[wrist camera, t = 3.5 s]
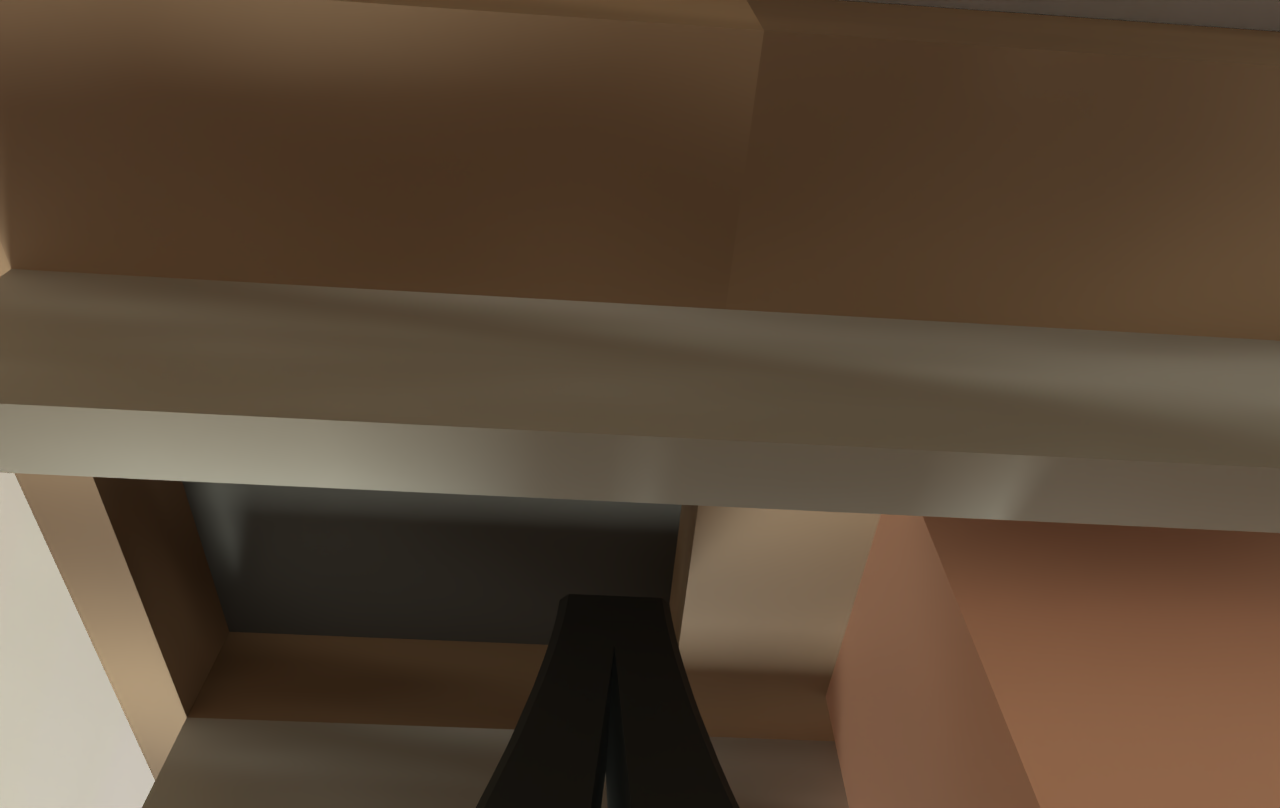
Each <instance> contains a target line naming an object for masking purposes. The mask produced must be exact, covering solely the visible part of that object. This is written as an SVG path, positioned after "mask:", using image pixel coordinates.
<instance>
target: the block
mask: <svg viewBox="0 0 1280 808" xmlns="http://www.w3.org/2000/svg"><path fill="white" fill-rule="evenodd" d="M825 697H826V702H827V707H828V711H829V716H830V721H831V726H832V730H833V735H834V740H835V744H836V749H837V754H838V759H839V763H840V768H841V773H842V777H843V782H844V787H845V791H846V796H847V801H848V806H849V808H1280V533H1268V532H1247V531H1225V530H1204V529H1183V528H1162V527H1141V526H1120V525H1099V524H1078V523H1057V522H1036V521H1014V520H993V519H972V518H951V517H930V516H909V515H888V514H881V515H880V519H879V522H878V525H877V528H876V532H875V535H874V538H873V542H872V545H871V548H870V552H869V555H868V558H867V561H866V565H865V568H864V571H863V575H862V578H861V581H860V584H859V588H858V591H857V594H856V598H855V601H854V604H853V607H852V611H851V614H850V617H849V621H848V624H847V627H846V631H845V634H844V637H843V640H842V644H841V647H840V650H839V654H838V657H837V660H836V663H835V667H834V670H833V673H832V677H831V680H830V683H829V687H828V690H827V693H826V696H825Z"/></svg>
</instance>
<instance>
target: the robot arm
mask: <svg viewBox="0 0 1280 808" xmlns="http://www.w3.org/2000/svg"><path fill="white" fill-rule="evenodd" d="M605 773H606V791H607V808H739V805H738V803H737V801H736V799H735V797H734V795H733V792H732V790H731V788H730V786H729V783H728V781H727V779H726V776H725V774H724V772H723V769H722V767H721V765H720V763H719V760H718V758H717V755H716V753H715V750H714V747H713V745H712V742H711V740H710V737H709V735H708V732H707V730H706V727H705V725H704V722H703V720H702V717H701V714H700V712H699V709H698V706H697V703H696V701H695V698H694V695H693V692H692V689H691V686H690V683H689V680H688V677H687V674H686V670H685V667H684V664H683V661H682V657H681V654H680V650H679V647H678V643H677V639H676V635H675V631H674V626H673V622H672V617H671V611H670V605H669V604H668V603H667V602H666V601H665V600H664V599H663V598H653V597H630V596H606V595H582V594H568V595H566V596H565V597H563V598H562V599H560V601H559V606H558V611H557V616H556V620H555V624H554V628H553V631H552V635H551V638H550V641H549V644H548V647H547V650H546V653H545V656H544V659H543V662H542V664H541V667H540V670H539V672H538V675H537V678H536V680H535V683H534V686H533V688H532V690H531V693H530V695H529V697H528V700H527V702H526V704H525V706H524V709H523V711H522V713H521V716H520V718H519V720H518V722H517V725H516V727H515V729H514V732H513V734H512V736H511V738H510V741H509V743H508V745H507V747H506V749H505V751H504V753H503V755H502V757H501V759H500V761H499V763H498V765H497V767H496V769H495V771H494V773H493V775H492V777H491V779H490V781H489V783H488V785H487V787H486V788H485V790H484V792H483V794H482V796H481V798H480V800H479V802H478V804H477V806H476V808H601V805H602V797H603V789H604V781H605Z"/></svg>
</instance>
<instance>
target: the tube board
mask: <svg viewBox="0 0 1280 808" xmlns="http://www.w3.org/2000/svg"><path fill="white" fill-rule="evenodd" d="M0 472H2V473H15V475H16V478H17V480H18V482H19V484H20V486H21V488H22V491H23V493H24V495H25V497H26V499H27V502H28V504H29V506H30V508H31V510H32V512H33V515H34V517H35V519H36V521H37V523H38V526H39V528H40V530H41V532H42V534H43V537H44V539H45V541H46V543H47V545H48V547H49V550H50V552H51V554H52V556H53V558H54V561H55V563H56V565H57V567H58V569H59V571H60V574H61V576H62V578H63V580H64V582H65V585H66V587H67V589H68V591H69V593H70V595H71V598H72V600H73V602H74V604H75V606H76V609H77V611H78V613H79V615H80V617H81V620H82V622H83V624H84V626H85V628H86V630H87V633H88V635H89V637H90V639H91V641H92V644H93V646H94V648H95V650H96V652H97V654H98V657H99V659H100V661H101V663H102V665H103V668H104V670H105V672H106V674H107V676H108V678H109V681H110V683H111V685H112V687H113V689H114V692H115V694H116V696H117V698H118V700H119V703H120V705H121V707H122V709H123V711H124V713H125V716H126V718H127V720H128V722H129V724H130V727H131V729H132V731H133V733H134V735H135V737H136V740H137V742H138V744H139V746H140V748H141V751H142V753H143V755H144V757H145V759H146V761H147V764H148V766H149V768H150V770H151V772H152V775H153V777H154V779H155V783H154V785H153V787H152V789H151V791H150V793H149V795H148V797H147V799H146V801H145V803H144V805H143V807H142V808H476V806H477V804H478V802H479V800H480V798H481V796H482V794H483V792H484V790H485V788H486V787H487V785H488V783H489V781H490V779H491V777H492V775H493V773H494V771H495V769H496V767H497V765H498V763H499V761H500V759H501V757H502V755H503V753H504V751H505V749H506V747H507V745H508V743H509V741H510V738H511V736H512V734H513V732H514V729H515V727H516V725H517V722H518V720H519V718H520V716H521V713H522V711H523V709H524V706H525V704H526V702H527V700H528V697H529V695H530V693H531V690H532V688H533V686H534V683H535V680H536V678H537V675H538V672H539V670H540V667H541V664H542V662H543V659H544V656H545V653H546V650H547V647H548V644H549V641H550V638H551V635H552V631H553V628H554V624H555V620H556V616H557V611H558V606H559V601H560V599H562V598H563V597H565V596H566V595H568V594H582V595H606V596H630V597H653V598H663V599H664V600H665V601H666V602H667V603H668V604H669V605H670V611H671V617H672V622H673V626H674V631H675V635H676V639H677V643H678V647H679V650H680V654H681V657H682V661H683V664H684V667H685V670H686V674H687V677H688V680H689V683H690V686H691V689H692V692H693V695H694V698H695V701H696V703H697V706H698V709H699V712H700V714H701V717H702V720H703V722H704V725H705V727H706V730H707V732H708V735H709V737H710V740H711V742H712V745H713V747H714V750H715V753H716V755H717V758H718V760H719V763H720V765H721V767H722V769H723V772H724V774H725V776H726V779H727V781H728V783H729V786H730V788H731V790H732V792H733V795H734V797H735V799H736V801H737V803H738V805H739V808H849V806H848V801H847V796H846V791H845V787H844V782H843V777H842V773H841V768H840V763H839V759H838V754H837V749H836V744H835V740H834V735H833V730H832V726H831V721H830V716H829V711H828V707H827V702H826V697H825V696H826V693H827V690H828V687H829V683H830V680H831V677H832V673H833V670H834V667H835V663H836V660H837V657H838V654H839V650H840V647H841V644H842V640H843V637H844V634H845V631H846V627H847V624H848V621H849V617H850V614H851V611H852V607H853V604H854V601H855V598H856V594H857V591H858V588H859V584H860V581H861V578H862V575H863V571H864V568H865V565H866V561H867V558H868V555H869V552H870V548H871V545H872V542H873V538H874V535H875V532H876V528H877V525H878V522H879V519H880V515H881V514H888V515H909V516H930V517H951V518H972V519H993V520H1014V521H1036V522H1057V523H1078V524H1099V525H1120V526H1141V527H1162V528H1183V529H1204V530H1225V531H1247V532H1268V533H1280V32H1276V31H1262V30H1248V29H1234V28H1220V27H1206V26H1192V25H1178V24H1164V23H1150V22H1136V21H1122V20H1108V19H1094V18H1080V17H1066V16H1052V15H1038V14H1024V13H1010V12H996V11H982V10H968V9H954V8H940V7H926V6H912V5H898V4H884V3H869V2H855V1H841V0H0ZM601 808H607V791H606V773H605V781H604V789H603V797H602V805H601Z"/></svg>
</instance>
